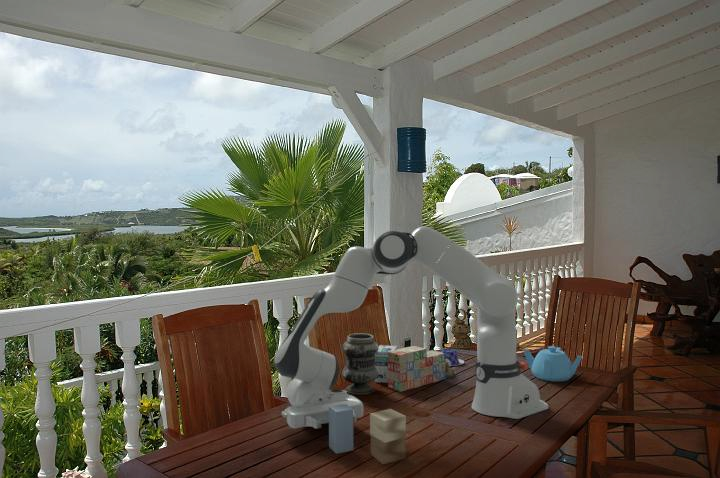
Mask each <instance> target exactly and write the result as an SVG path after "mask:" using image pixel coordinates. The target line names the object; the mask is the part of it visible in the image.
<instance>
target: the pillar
mask: <svg viewBox="0 0 720 478" xmlns="http://www.w3.org/2000/svg"><path fill="white" fill-rule="evenodd" d="M328 447H329V448H330V450H332V451H333V452H334V453H335V454H341V453H346V452H350V451H354V422H353V409H352V408H351V407H349V406H348V405H347V404H341V405H334V406H329V423H328Z"/></svg>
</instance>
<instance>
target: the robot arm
mask: <svg viewBox="0 0 720 478" xmlns="http://www.w3.org/2000/svg"><path fill="white" fill-rule="evenodd" d="M410 262H416V263H419V264H421V265H423V266H424V267H425V268H426V269H428V270H429V271H431V272H432V273H433V274H434V275H436V276H437V277H439V278H440V279H441V280H443V281H445V283H447V284H448V285H450V286H451V287H453V288H454V290H456V291H458V293H460V294H461V295H462V296H463V297H465V298H466V299H467V300H469V302H471V303H472V304H473V305H475V306H476V326H477V327H476V330H477V331H476V335H477V336H476V337H477V338H476V339H477V340H476V344H477V345H476V348H477V349H476V351H477V353H476V356H477V357H476V359H475V375H476V376H475V377H476V383H475V389H474V390H475V391H474V396H473V400H472V403H471V409H472V410H473V411H475V412H476V413H478V414H482V415H486V416H490V417H497V418H498V417H500V418H501V417H502V418H509V419H516V420H518V419H522V418H525V417H527V416H531V415H534V414H537V413H539V412H543V411H546V410H548V409H549V405H548V403H547V402H545V401H544V400H542V399H541V397H540V391H539V388H538V386H537V385H536V384H535V383H534V382H533V381H532V380H530V379H529V378H528V377H526V376H525V375H524V374H523V373H522V371H521V369H522V370H524V371H526V370H528V367H529V365H528V362H524V361H518V360H517V328H516V327H517V326H516V308H517V305H518V301H519V300H518V299H519V295H518V292H517V289H516V287H515V286H514V284H513V283H512V281H511V280H510V279H509V278H508V277H507V276H505V275H502V274H499V273H498V272H496V271H495V270H494V269H493V268H491V267H490V266H488V265H487V264H485V263H484V262H483V261H482V260H480V259H479V258H478V257H476V256H475V255H474V254H473V253H471V252H470V251H468V250H467V249H465V248H464V247H463V246H461V245H460V244H458V243H457V242H456V241H454V240H453V239H451V238H450V237H448V236H447V235H445V234H444V233H442V232H439V231H437V230H436V229H434V228H431V227H429V226H426V225H424V226H423V225H422V226H419V227H417V228H415V229H414V230H413V231H412V232H405V231H404V232H403V231H397V230H388V231H385V232H383V233H381V234H380V235H379V236H378V237H377V238H376V240H375V241H374V243H373V247H371V248H370V247H369V248H368V247H367V248H366V247H363V246H360V245H359V246H358V245H357V246H355V245H354V246H351V247H349V248H348V249H347V250H346V251H345V253H344V255H343V256H342V258H341V260H340V261H339V263H338V265H337V267H336V270H335V271H334V274H333V276H332V278H331V280H330V282H329V283H328V285H327V286H325V287H324V288H323V289H318V290H317V291H316V292H315V293H314V294H313V295H312V296H311V298H310V299H309V301H307V303H306V305H305V307H304V308H303V310H302V312H301V314H300V315H299V317H298V319H297V320H296V322H295V323H294V325H293V327H292V328H291V330H290V332H289V333H288V335H287V337H285V339H284V340H283V342H282V343H281V344H280V346H279V347H278V349H277V350H276V353H275V354H274V359H273V364H274V366H275V368H276V370H277V373H279V375H280V376H282V377H285V378H291V381H289V383H288V385H287V387H286V396H287V399H288V401H289V403H290V405H289V406H287V408H286V409H285V410H282V411H281V416H282V417H284V418H286V422H287V424H288V426H289V428H291V429H301V428H305V427H306V428H307V427H311V428H314V429H321V428H322V425H323V424H329V406H334V405H341V404H347V405H348V406H349V407H351V408H352V409H353V423H356V422H357V419H358V418H362V417H363V415H364V410H365V409H364V404H363V402H362V400H360V399H359V398H357V397H356V396H354V395H353V394H349V393H347V391H345V389H333V388H334V386H335V385H336V383H337V380H338V377H339V373H340V370H339V369H340V368H339V363H338V359H337V358H336V356H335V355H334V354H332V353H329V352H326V351H324V350H321V349H318V348H314V347H312V346H310V345H308V344H305V341H306V340H307V338H308V337H309V334H310V333H311V331H312V329H313V327H314V326H315V325H316V323H317V321H318V320H319V319H320V318H321V317H322V316H324V315H326V314H327V315H328V314H333V313H338V314H339V313H349V312H352V311H355V310H356V309H358V308H360V307H361V306H362V304H363V303H364V301H365V299H366V297H367V295H368V292H369V290H370V287H371V284H372V281H373V278H374V277H375V276H376V274H377V275H396V274H399V273H401V272H402V271H403V270H405V269H406V267H407V265H408V264H409V263H410Z"/></svg>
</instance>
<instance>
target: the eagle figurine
mask: <svg viewBox="0 0 720 478" xmlns="http://www.w3.org/2000/svg"><path fill="white" fill-rule="evenodd" d="M451 367H452V366H451V362H450V360H449V359H445V379H448V380H449V379H453V378H454V377H455V376H456V374H455V372H454V370H453V369H452V368H451Z"/></svg>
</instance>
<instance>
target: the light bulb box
mask: <svg viewBox="0 0 720 478" xmlns="http://www.w3.org/2000/svg"><path fill="white" fill-rule="evenodd" d="M378 347H379V349H378V351H377V353H375V367H376V368H377V370H378V372H379V375H378V377H377V378H376V379H375V380H374V382H375V383H381V382H382V383H383V384H388V369H387V361H388V351H392V350H397V349H399V348H398V346H397V345H383V344H379V345H378ZM382 383H381V384H382Z"/></svg>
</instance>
